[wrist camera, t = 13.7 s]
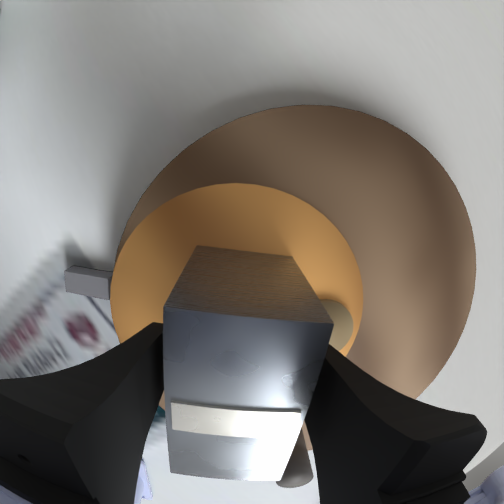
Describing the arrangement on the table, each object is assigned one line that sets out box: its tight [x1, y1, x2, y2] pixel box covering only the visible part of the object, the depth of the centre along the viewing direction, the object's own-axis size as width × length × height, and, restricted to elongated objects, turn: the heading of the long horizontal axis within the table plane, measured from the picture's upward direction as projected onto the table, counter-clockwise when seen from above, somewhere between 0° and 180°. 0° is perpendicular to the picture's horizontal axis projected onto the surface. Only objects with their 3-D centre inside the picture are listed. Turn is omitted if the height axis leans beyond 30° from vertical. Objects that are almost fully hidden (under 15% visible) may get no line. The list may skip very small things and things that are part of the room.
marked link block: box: [163, 245, 334, 481], centre depth 10 cm, size 4×7×6 cm, turn 172°
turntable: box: [110, 105, 476, 488], centre depth 13 cm, size 20×20×6 cm
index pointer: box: [64, 266, 113, 300], centre depth 14 cm, size 3×1×1 cm, turn 82°
